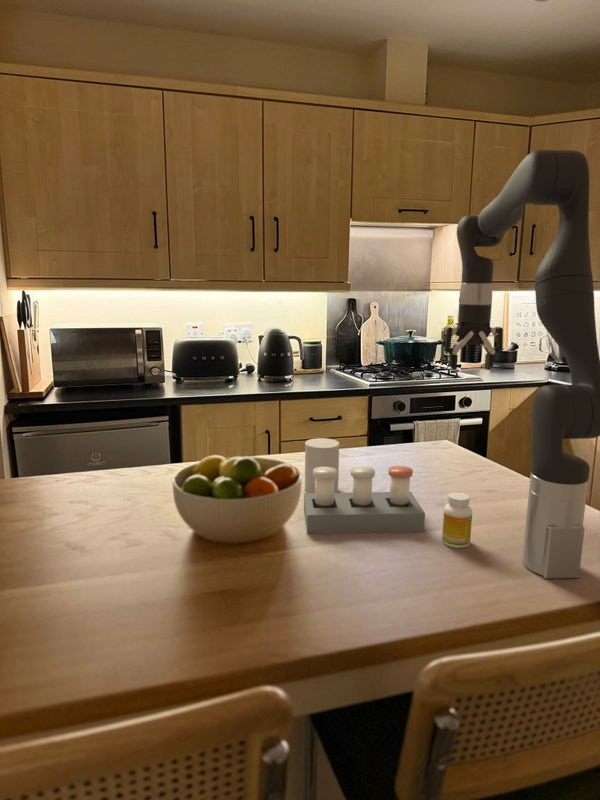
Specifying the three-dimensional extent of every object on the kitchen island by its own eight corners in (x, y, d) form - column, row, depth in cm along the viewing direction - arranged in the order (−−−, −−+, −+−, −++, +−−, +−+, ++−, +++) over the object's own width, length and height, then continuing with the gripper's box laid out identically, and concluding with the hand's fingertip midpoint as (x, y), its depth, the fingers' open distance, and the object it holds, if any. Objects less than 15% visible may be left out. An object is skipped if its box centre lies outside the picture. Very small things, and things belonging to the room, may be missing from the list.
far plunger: (337, 506, 119) (338, 474, 118) (313, 506, 119) (313, 474, 117) (334, 497, 124) (335, 466, 123) (311, 497, 124) (312, 466, 122)
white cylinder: (338, 485, 144) (339, 438, 141) (337, 497, 136) (338, 448, 133) (306, 483, 144) (306, 437, 142) (303, 495, 136) (303, 447, 134)
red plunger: (413, 505, 120) (415, 473, 118) (390, 505, 120) (391, 473, 118) (408, 496, 125) (409, 465, 123) (385, 496, 125) (386, 465, 123)
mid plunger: (375, 505, 120) (376, 474, 118) (351, 506, 119) (352, 474, 118) (371, 496, 124) (372, 466, 123) (348, 497, 124) (349, 466, 123)
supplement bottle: (471, 550, 110) (474, 502, 108) (442, 547, 111) (445, 500, 109) (468, 537, 115) (472, 492, 113) (441, 535, 116) (444, 489, 114)
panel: (424, 531, 117) (425, 513, 117) (307, 533, 116) (307, 515, 115) (410, 508, 129) (411, 491, 128) (303, 510, 128) (303, 493, 127)
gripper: (451, 303, 133) (447, 372, 137) (510, 303, 134) (505, 371, 138) (441, 301, 141) (437, 367, 144) (497, 302, 142) (492, 367, 145)
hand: (470, 369), depth 141 cm, fingers open, 8 cm apart
